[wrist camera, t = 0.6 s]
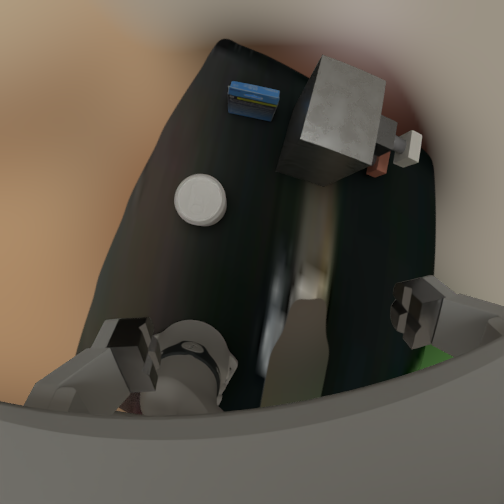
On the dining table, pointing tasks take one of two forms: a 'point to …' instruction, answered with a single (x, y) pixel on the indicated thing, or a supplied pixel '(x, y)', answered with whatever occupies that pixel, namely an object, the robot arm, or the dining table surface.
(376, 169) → the brown block
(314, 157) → the box
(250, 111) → the label tape box
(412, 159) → the white key
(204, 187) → the beverage can
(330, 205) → the dining table surface
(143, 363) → the robot arm
